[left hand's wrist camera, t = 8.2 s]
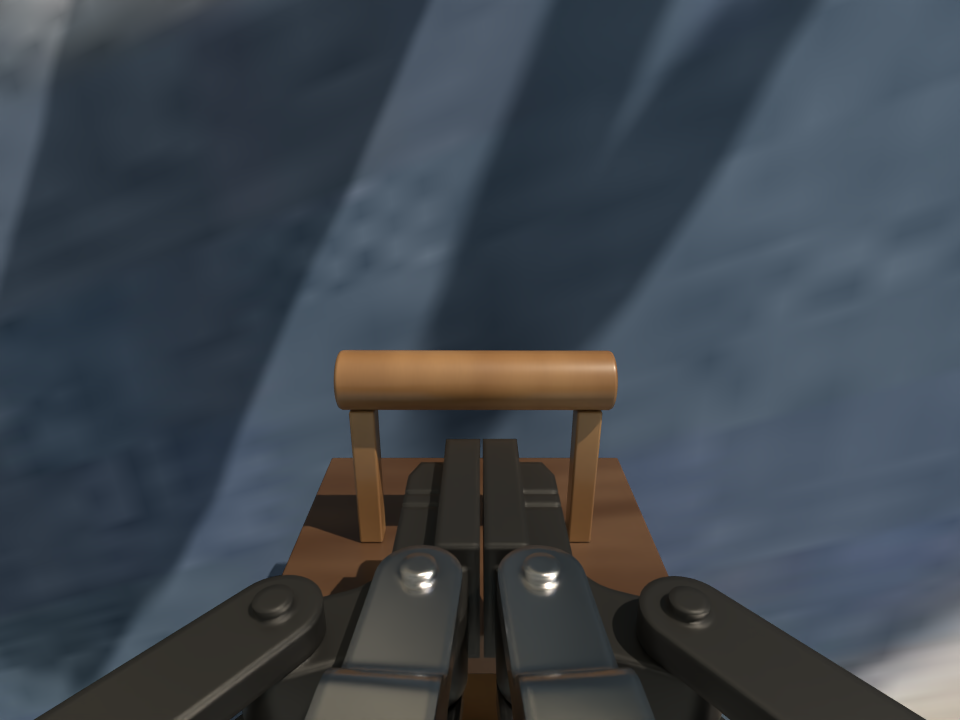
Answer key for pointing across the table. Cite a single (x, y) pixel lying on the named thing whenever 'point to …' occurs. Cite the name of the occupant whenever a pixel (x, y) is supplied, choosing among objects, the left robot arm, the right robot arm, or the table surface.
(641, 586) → the drawer
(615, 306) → the table surface
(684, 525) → the table surface
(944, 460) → the table surface
